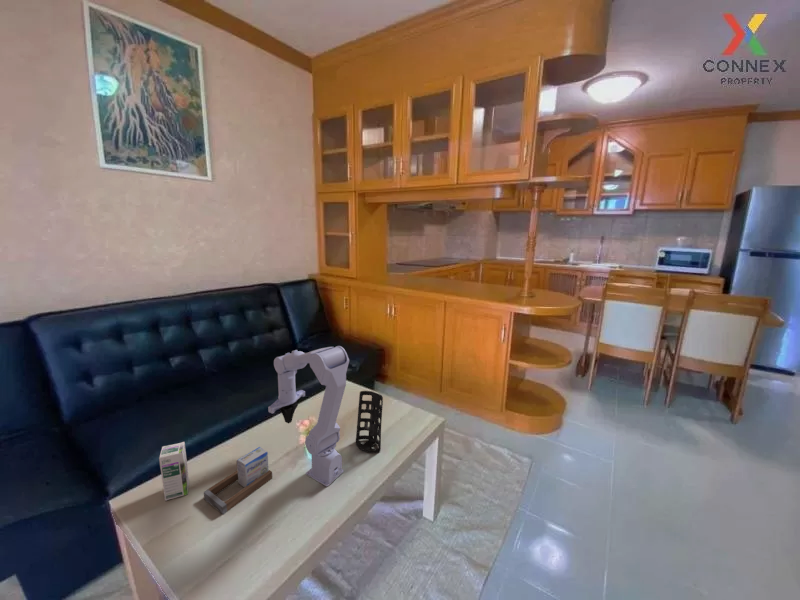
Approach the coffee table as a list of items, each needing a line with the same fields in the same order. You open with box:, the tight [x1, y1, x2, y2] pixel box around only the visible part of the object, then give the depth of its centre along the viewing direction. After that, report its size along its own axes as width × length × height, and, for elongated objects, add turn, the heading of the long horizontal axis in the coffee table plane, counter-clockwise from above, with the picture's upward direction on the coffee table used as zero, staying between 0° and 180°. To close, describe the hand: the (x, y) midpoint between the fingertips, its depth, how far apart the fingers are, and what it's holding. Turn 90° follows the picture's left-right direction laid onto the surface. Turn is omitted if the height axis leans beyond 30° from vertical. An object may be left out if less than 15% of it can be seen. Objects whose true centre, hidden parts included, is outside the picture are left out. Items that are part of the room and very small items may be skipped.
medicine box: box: [236, 446, 269, 488], centre depth 104 cm, size 8×4×9 cm, turn 146°
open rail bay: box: [203, 469, 273, 515], centre depth 100 cm, size 9×16×2 cm, turn 148°
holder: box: [355, 390, 384, 454], centre depth 121 cm, size 11×8×20 cm
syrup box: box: [158, 441, 190, 502], centre depth 97 cm, size 6×6×14 cm
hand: (288, 421), depth 119 cm, fingers closed
